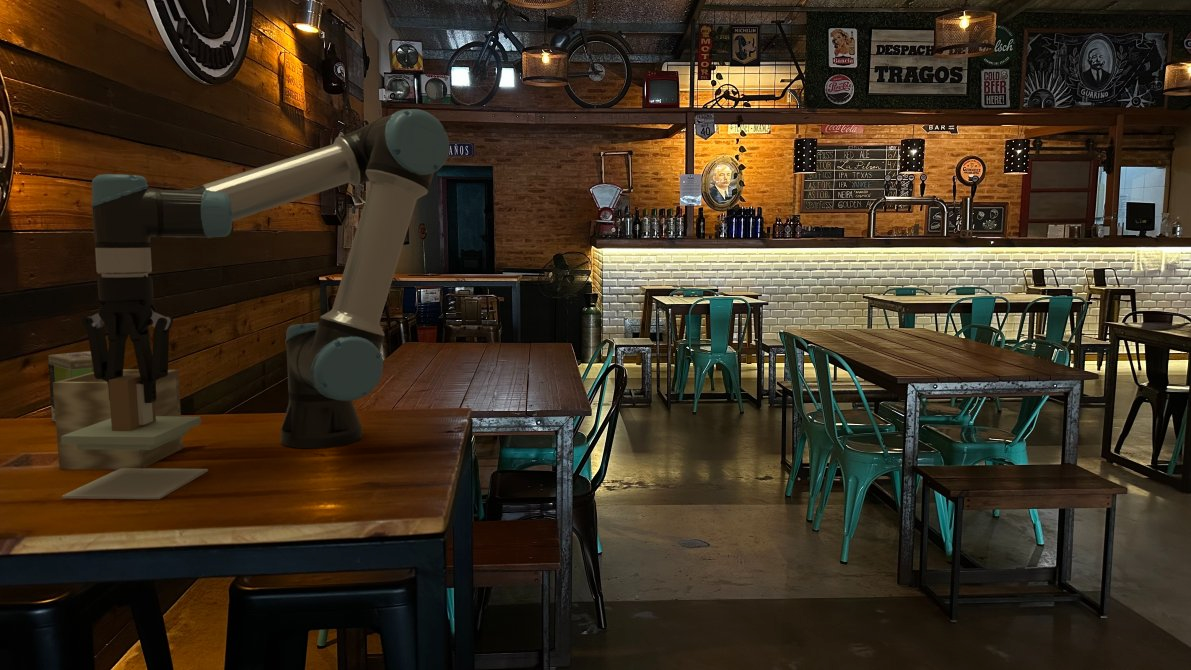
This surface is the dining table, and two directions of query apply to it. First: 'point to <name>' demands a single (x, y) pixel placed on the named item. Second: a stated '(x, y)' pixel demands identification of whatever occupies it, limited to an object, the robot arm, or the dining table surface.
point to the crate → (90, 404)
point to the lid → (129, 423)
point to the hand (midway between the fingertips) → (134, 422)
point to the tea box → (67, 369)
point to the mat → (136, 484)
